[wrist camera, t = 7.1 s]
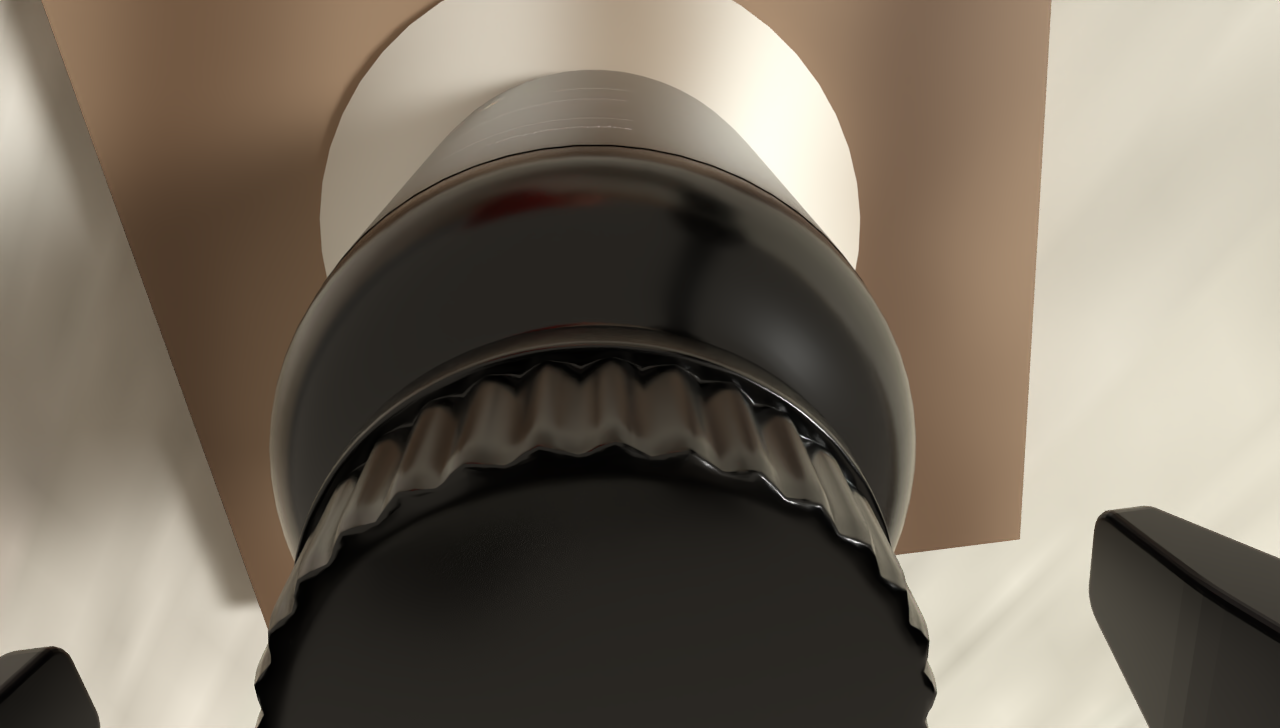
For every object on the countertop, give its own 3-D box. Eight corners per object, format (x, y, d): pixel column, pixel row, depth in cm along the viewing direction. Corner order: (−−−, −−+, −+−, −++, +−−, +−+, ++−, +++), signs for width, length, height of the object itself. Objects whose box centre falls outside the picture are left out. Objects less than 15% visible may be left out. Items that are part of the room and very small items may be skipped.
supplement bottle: (835, 318, 18) (1198, 881, 7) (531, 466, 19) (447, 1155, 8) (677, -19, 16) (871, 68, 5) (334, 174, 17) (-165, 615, 6)
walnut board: (1028, -299, 16) (1079, -328, 14) (993, 502, 22) (1025, 547, 21) (30, -166, 16) (-35, -179, 14) (289, 591, 22) (265, 643, 21)
